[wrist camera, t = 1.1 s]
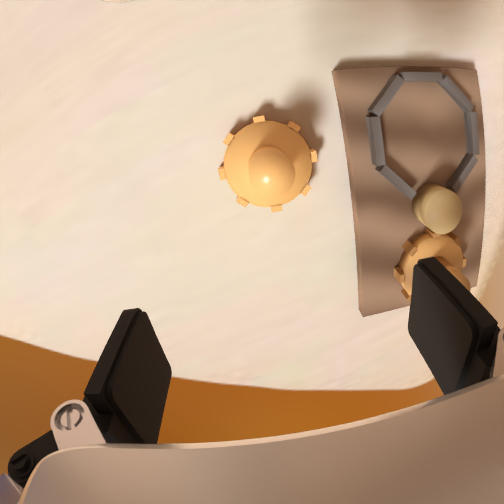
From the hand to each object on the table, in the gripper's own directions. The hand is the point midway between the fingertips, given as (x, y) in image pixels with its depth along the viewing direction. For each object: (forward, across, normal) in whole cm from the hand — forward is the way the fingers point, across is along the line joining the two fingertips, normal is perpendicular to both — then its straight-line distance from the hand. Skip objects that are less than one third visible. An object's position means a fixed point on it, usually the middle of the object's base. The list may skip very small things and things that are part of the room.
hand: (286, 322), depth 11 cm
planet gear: (+19, -1, -2) cm, 19 cm away
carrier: (+19, -16, +3) cm, 25 cm away
